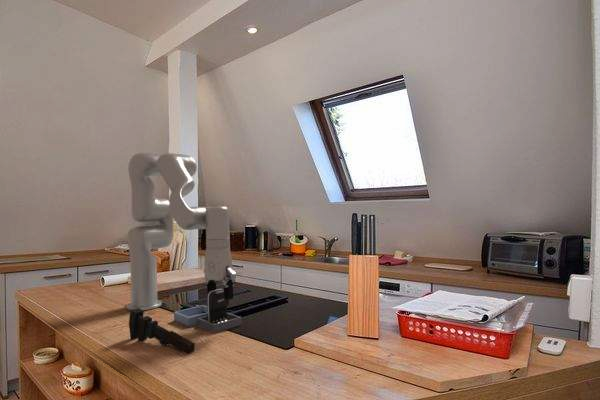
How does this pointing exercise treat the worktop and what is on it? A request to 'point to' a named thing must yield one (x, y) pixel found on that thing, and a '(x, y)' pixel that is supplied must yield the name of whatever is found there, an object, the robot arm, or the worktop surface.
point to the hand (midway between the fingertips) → (220, 297)
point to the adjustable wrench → (156, 332)
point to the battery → (217, 306)
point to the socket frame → (232, 322)
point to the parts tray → (190, 315)
